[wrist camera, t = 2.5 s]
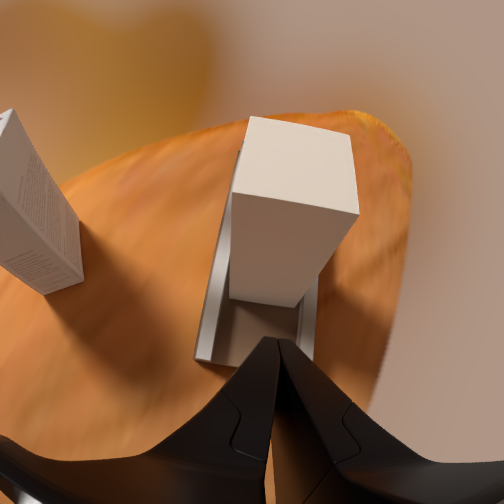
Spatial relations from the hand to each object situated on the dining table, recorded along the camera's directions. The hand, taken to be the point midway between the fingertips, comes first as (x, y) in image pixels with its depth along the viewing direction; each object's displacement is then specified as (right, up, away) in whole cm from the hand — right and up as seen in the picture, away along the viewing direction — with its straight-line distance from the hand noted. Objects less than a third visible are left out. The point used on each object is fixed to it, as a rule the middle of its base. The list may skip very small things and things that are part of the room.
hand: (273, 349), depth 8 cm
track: (0, +3, +12) cm, 13 cm away
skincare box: (-16, +2, +11) cm, 19 cm away
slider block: (0, +2, +10) cm, 10 cm away
